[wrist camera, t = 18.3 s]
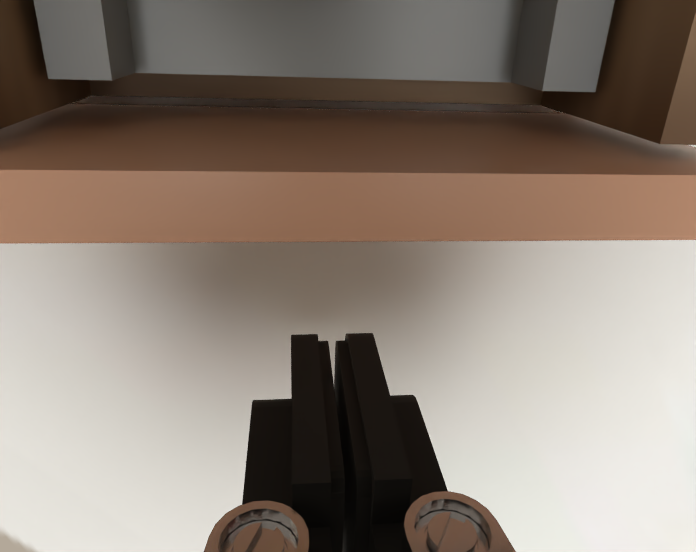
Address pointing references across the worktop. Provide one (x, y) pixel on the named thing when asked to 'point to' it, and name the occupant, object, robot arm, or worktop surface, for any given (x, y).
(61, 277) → the worktop surface
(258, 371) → the worktop surface
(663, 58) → the cubby
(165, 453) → the worktop surface
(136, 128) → the tray
